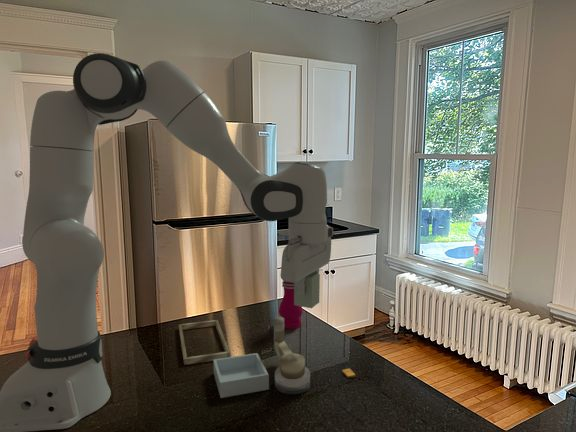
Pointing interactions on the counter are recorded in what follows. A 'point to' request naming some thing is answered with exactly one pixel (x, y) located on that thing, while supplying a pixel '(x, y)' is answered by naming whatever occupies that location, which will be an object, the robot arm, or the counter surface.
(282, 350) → the crank
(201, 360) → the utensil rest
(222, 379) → the tray
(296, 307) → the pepper mill
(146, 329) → the counter surface
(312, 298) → the block
